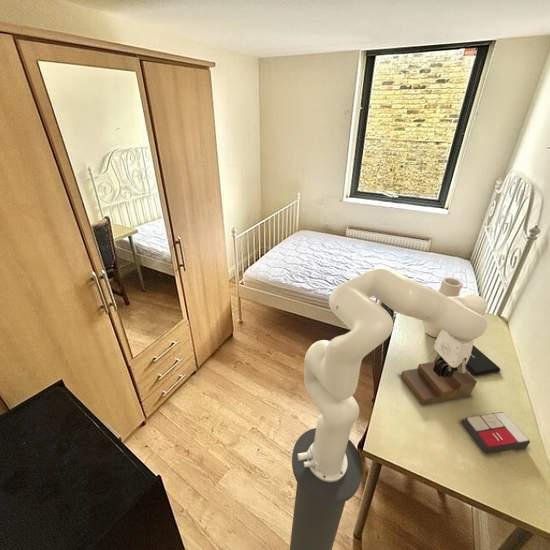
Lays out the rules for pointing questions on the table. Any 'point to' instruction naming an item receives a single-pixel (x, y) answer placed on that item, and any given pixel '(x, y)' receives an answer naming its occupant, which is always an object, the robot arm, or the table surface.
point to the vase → (449, 289)
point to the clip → (440, 368)
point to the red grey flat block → (495, 433)
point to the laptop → (480, 363)
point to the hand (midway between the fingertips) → (443, 371)
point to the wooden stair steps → (437, 384)
